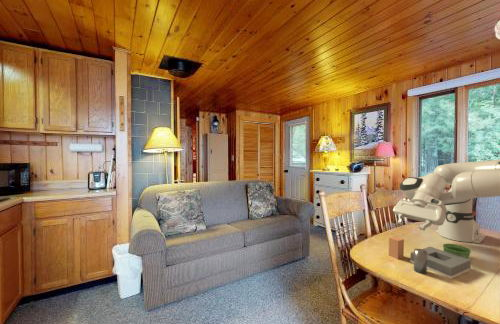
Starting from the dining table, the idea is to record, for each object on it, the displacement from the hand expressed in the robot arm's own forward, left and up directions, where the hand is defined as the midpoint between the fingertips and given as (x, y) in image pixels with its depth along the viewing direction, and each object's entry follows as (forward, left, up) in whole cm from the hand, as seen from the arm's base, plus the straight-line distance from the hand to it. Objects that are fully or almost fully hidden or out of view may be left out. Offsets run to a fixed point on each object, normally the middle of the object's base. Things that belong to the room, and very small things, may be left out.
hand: (410, 226), depth 106 cm
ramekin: (-13, +12, -12) cm, 21 cm away
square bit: (+9, 0, -12) cm, 15 cm away
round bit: (+13, +12, -12) cm, 21 cm away
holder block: (+2, +13, -12) cm, 18 cm away
